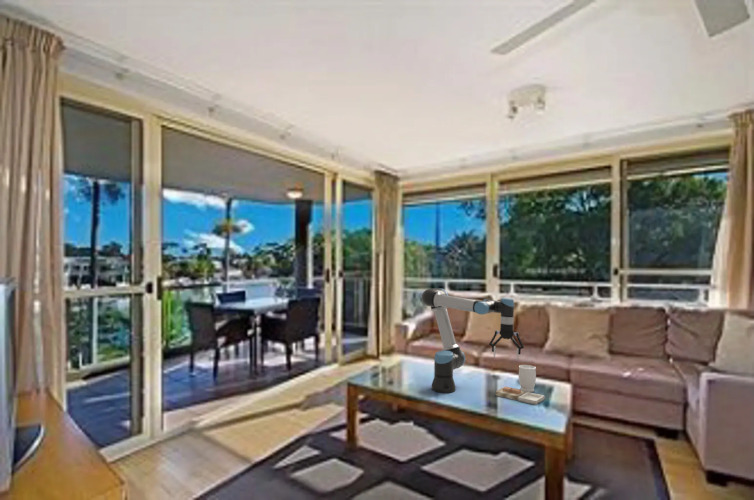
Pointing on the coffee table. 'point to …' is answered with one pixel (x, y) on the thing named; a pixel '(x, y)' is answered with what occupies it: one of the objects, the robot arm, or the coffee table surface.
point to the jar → (527, 377)
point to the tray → (531, 398)
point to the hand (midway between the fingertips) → (505, 358)
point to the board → (508, 394)
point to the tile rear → (507, 389)
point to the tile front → (515, 391)
